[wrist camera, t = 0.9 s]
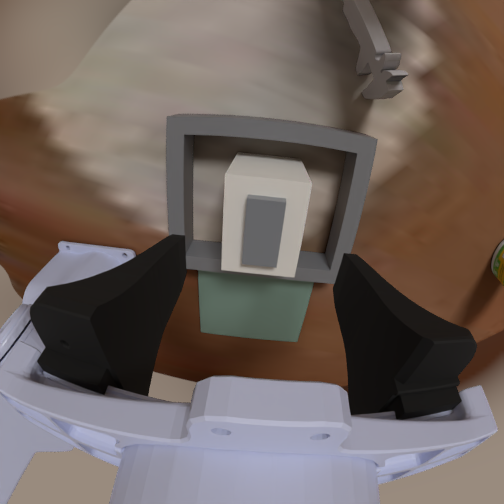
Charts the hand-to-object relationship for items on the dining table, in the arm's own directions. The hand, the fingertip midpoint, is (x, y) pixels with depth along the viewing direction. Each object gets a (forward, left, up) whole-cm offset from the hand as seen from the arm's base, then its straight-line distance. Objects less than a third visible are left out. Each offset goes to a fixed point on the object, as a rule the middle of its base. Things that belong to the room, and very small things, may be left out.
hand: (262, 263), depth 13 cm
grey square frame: (0, 0, -9) cm, 9 cm away
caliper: (+3, +18, -10) cm, 21 cm away
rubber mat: (0, -11, -9) cm, 15 cm away
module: (0, 0, -10) cm, 10 cm away
